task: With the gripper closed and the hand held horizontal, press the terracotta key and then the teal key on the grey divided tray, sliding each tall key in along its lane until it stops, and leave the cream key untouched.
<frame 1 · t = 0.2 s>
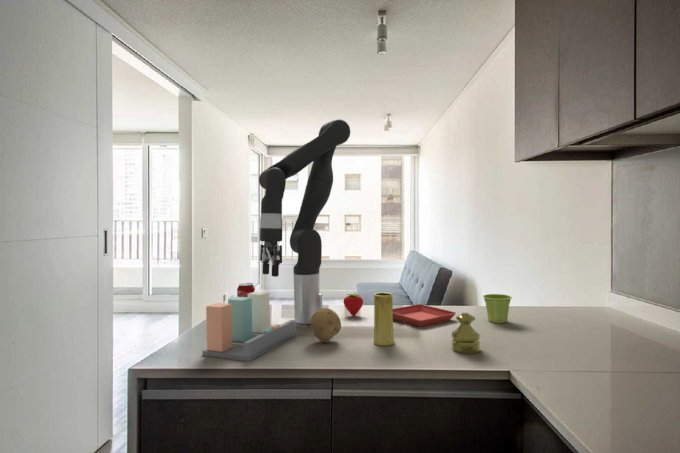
hand: (270, 275, 136), 18 cm above the countertop, tool pointing down, fingers open, 8 cm apart
key terracotta: (219, 326, 111), point 7 cm above the countertop, slide at 0.0 cm
grey divided tray: (252, 344, 118), on the countertop
plant pot: (497, 321, 139), on the countertop
plant saucer: (420, 320, 144), on the countertop
key teal: (240, 318, 120), point 7 cm above the countertop, slide at 0.0 cm
strawberry: (353, 316, 152), on the countertop
natural sponge: (326, 342, 120), on the countertop
olive glossy tiered piece: (465, 350, 110), on the countertop
vase: (384, 343, 117), on the countertop
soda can: (246, 315, 157), on the countertop
key cream: (258, 311, 128), point 7 cm above the countertop, slide at 0.0 cm
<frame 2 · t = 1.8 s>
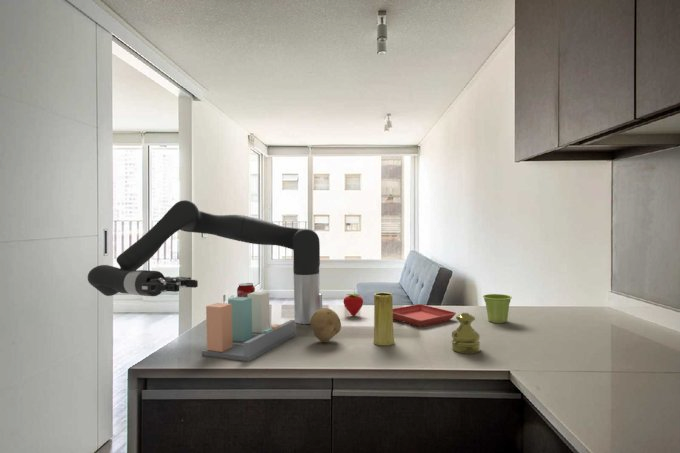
hand: (187, 285, 115), 18 cm above the countertop, tool horizontal, fingers open, 6 cm apart
nothing on the countertop moved.
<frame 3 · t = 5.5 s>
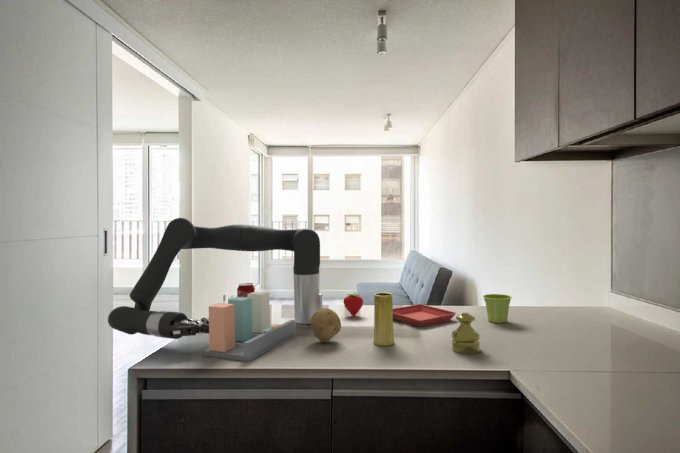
hand: (214, 329, 112), 6 cm above the countertop, tool horizontal, fingers closed
key terracotta: (221, 327, 111), point 7 cm above the countertop, slide at 0.9 cm, touching gripper
everything else where it was.
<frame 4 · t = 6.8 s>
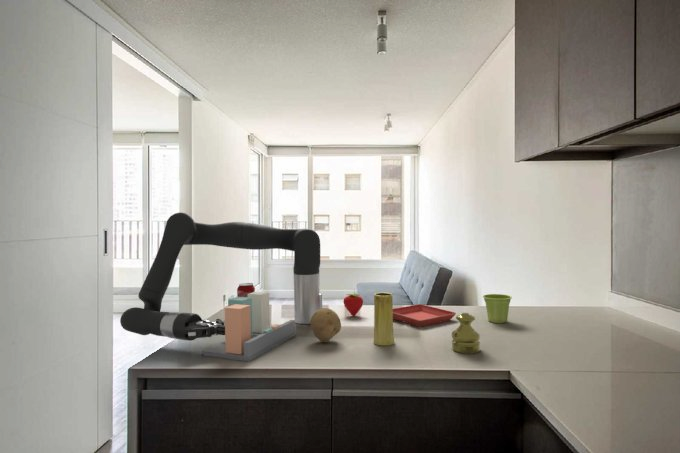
hand: (230, 331, 110), 6 cm above the countertop, tool horizontal, fingers closed
key terracotta: (237, 328, 109), point 7 cm above the countertop, slide at 6.2 cm, touching gripper
everything else where it was.
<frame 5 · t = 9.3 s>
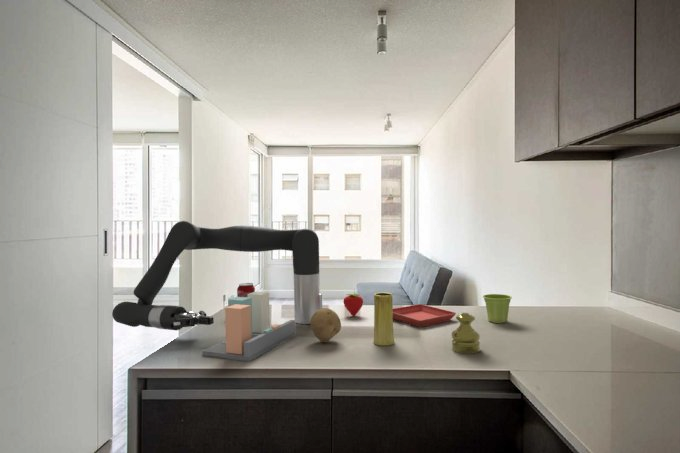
hand: (211, 320, 122), 6 cm above the countertop, tool horizontal, fingers closed
key terracotta: (238, 328, 108), point 7 cm above the countertop, slide at 6.3 cm
everything else where it was.
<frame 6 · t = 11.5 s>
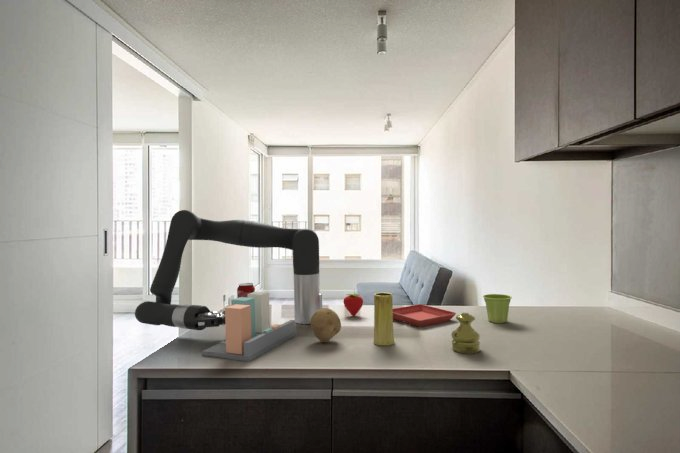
hand: (236, 321, 120), 6 cm above the countertop, tool horizontal, fingers closed
key teal: (243, 319, 119), point 7 cm above the countertop, slide at 1.1 cm, touching gripper
everything else where it was.
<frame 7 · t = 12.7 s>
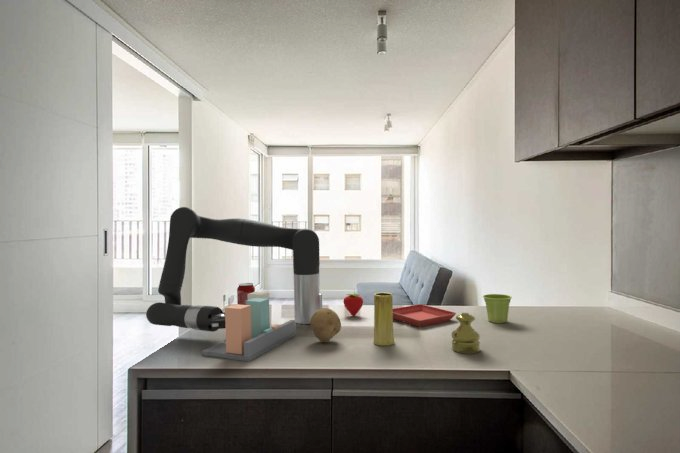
hand: (250, 322, 118), 6 cm above the countertop, tool horizontal, fingers closed
key teal: (257, 320, 117), point 7 cm above the countertop, slide at 6.1 cm, touching gripper
everything else where it was.
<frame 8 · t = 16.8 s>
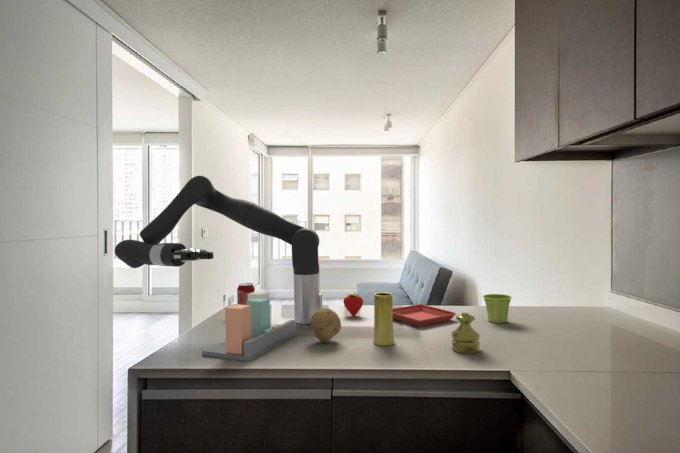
hand: (211, 255, 123), 26 cm above the countertop, tool horizontal, fingers closed
key teal: (258, 320, 117), point 7 cm above the countertop, slide at 6.3 cm
everything else where it was.
at the end: key terracotta slide at 6.3 cm; key teal slide at 6.3 cm; key cream slide at 0.0 cm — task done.
